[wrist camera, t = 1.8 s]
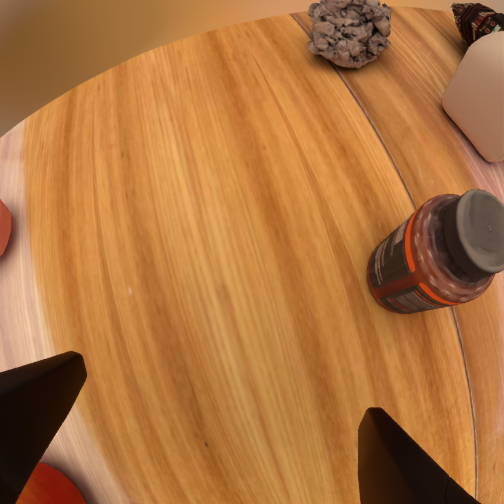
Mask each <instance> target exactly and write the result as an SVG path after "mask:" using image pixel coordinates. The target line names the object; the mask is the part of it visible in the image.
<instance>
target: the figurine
mask: <svg viewBox="0 0 504 504" xmlns="http://www.w3.org/2000/svg"><path fill="white" fill-rule="evenodd" d="M451 8H452V11H453V13H454V16H455V22H456V26H457V28H458V30H459V32H460V34H461V37H462V45H467V46H468V47H470V46H471V45H472V44H473V43H474V42H475V41H477V40H478V39H480V38H481V37H483V36H485V35H488V34H490V33H493V32H499V31H504V14H503V13H499V14H498V13H496V12H495V11H494V10H493V9H491V8H489V7H486V6H483V5H482V4H480V3H476V4H473V3H466V4H456V3H453V4H452V6H451Z"/></svg>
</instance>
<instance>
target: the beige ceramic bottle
mask: <svg viewBox="0 0 504 504" xmlns="http://www.w3.org/2000/svg"><path fill="white" fill-rule="evenodd" d="M442 105H443V108H444V110H445V111H446V113H447V114H448V115H449V117H450V118H451V119H452V120H453V121H454V122H455V123H456V124H457V126H458V127H459V128H460V129H461V130H462V132H463V133H464V134H465V135H466V136H467V138H468V139H469V140H470V141H471V143H472V144H473V145H474V146H475V148H476V149H477V150H478V151H479V153H480V154H481V155H482V157H484V158H485V159H486V160H487V161H488V162H496V163H499V162H502V161H504V31H499V32H493V33H490V34H488V35H485V36H483V37H481V38H480V39H478V40H477V41H475V42H474V43H473V44H472V45H471V46H470V47H469V48H468V50H467V52H466V54H465V56H464V58H463V59H462V61H461V63H460V65H459V66H458V68H457V70H456V72H455V73H454V75H453V77H452V79H451V80H450V82H449V84H448V85H447V87H446V89H445V91H444V94H443V98H442Z"/></svg>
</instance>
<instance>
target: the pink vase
mask: <svg viewBox="0 0 504 504" xmlns="http://www.w3.org/2000/svg"><path fill="white" fill-rule="evenodd" d="M11 224H12V221H11V214H10V212H9V210H8V208H7V207H6V206H5V205H4V203H3V202H2V201H1V200H0V256H1V255H2V254H3V252H4V250H5V248H6V246H7V244H8V240H9V237H10V233H11Z"/></svg>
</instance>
